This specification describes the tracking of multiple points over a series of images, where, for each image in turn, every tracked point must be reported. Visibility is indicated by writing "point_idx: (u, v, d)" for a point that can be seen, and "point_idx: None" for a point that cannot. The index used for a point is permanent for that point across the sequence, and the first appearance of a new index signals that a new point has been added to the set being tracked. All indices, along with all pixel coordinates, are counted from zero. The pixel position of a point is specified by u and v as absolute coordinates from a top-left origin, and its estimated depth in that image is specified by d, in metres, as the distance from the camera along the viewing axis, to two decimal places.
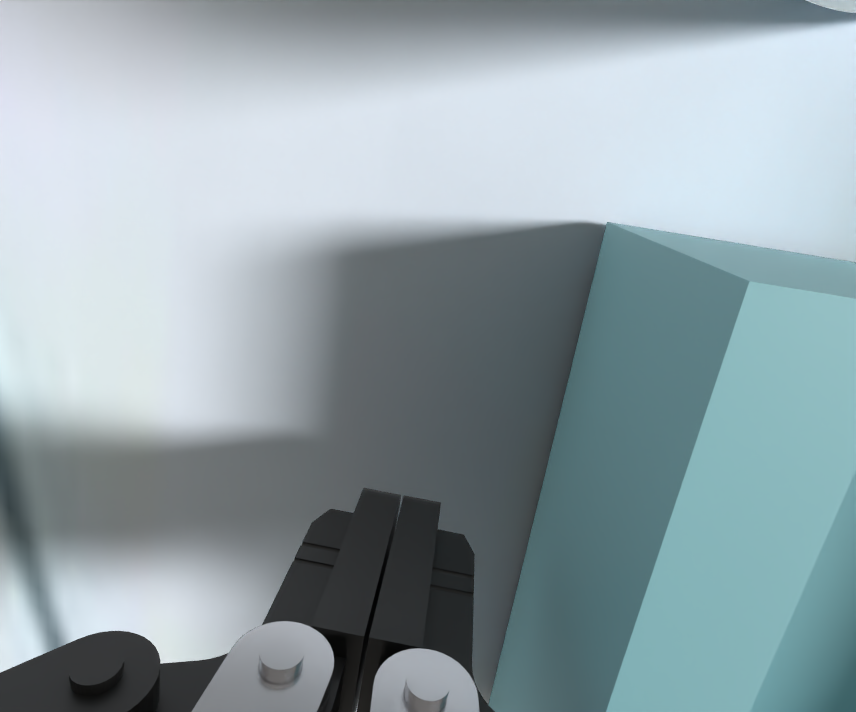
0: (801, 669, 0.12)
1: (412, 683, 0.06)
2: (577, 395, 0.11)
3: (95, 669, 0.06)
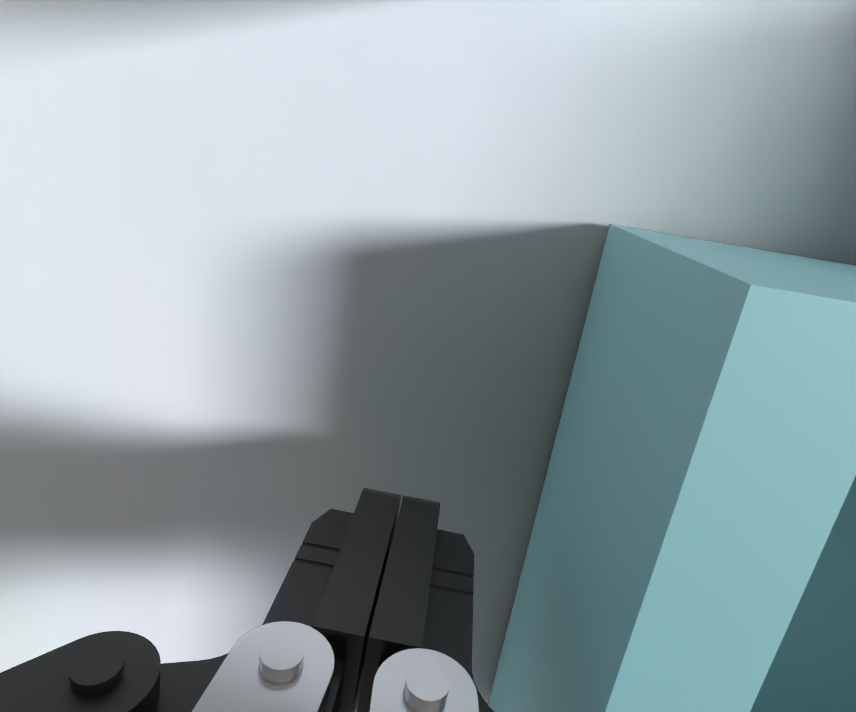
0: (801, 672, 0.12)
1: (412, 683, 0.06)
2: (578, 397, 0.11)
3: (96, 669, 0.06)
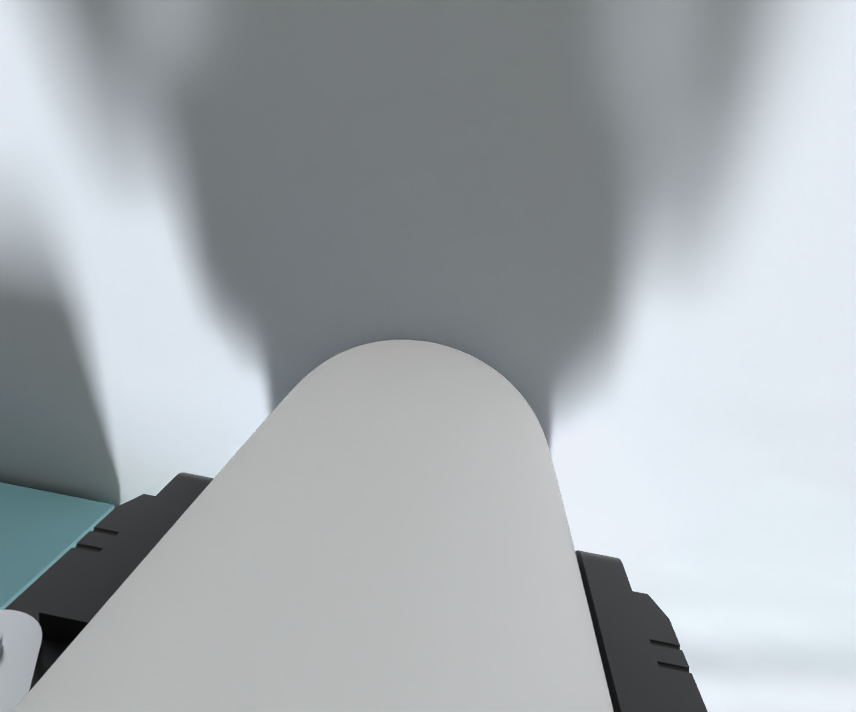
0: None
1: None
2: None
3: None
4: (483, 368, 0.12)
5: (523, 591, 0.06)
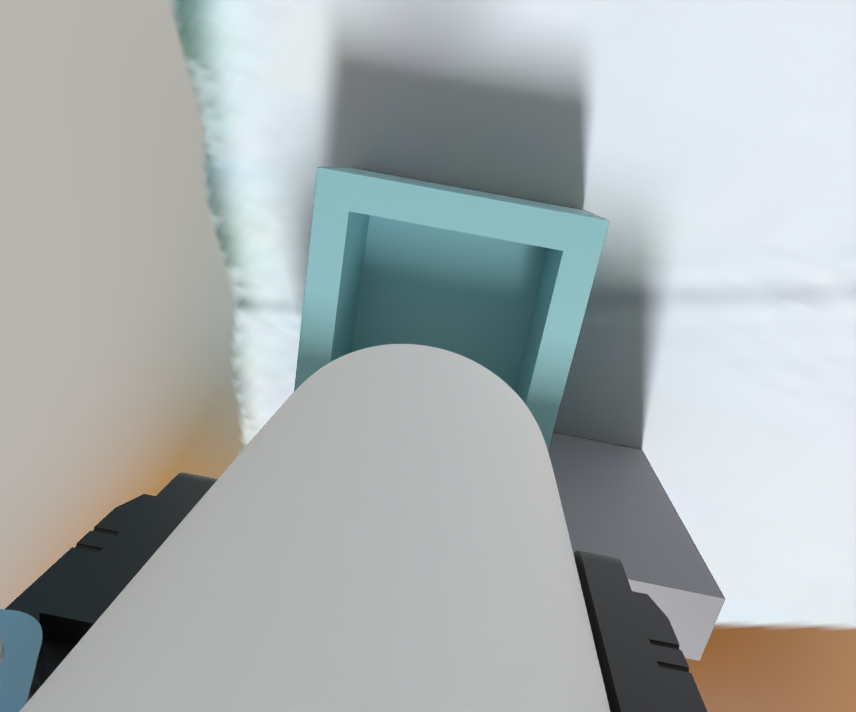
0: (401, 298, 0.30)
1: None
2: (525, 200, 0.28)
3: None
4: (483, 372, 0.12)
5: (522, 599, 0.06)
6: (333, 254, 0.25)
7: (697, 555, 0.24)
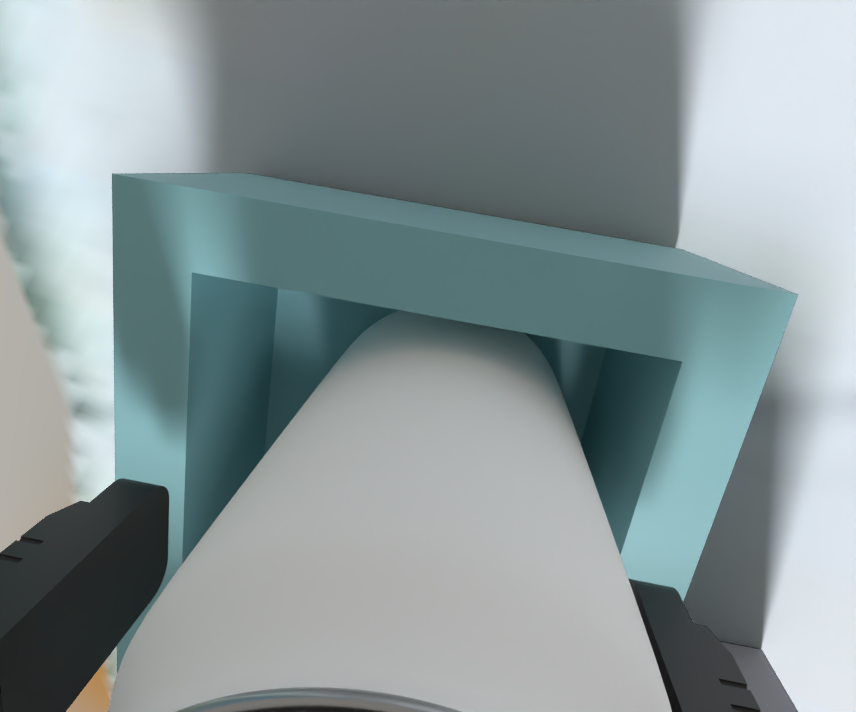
0: None
1: None
2: (573, 233, 0.15)
3: None
4: None
5: (548, 442, 0.09)
6: (166, 364, 0.11)
7: None
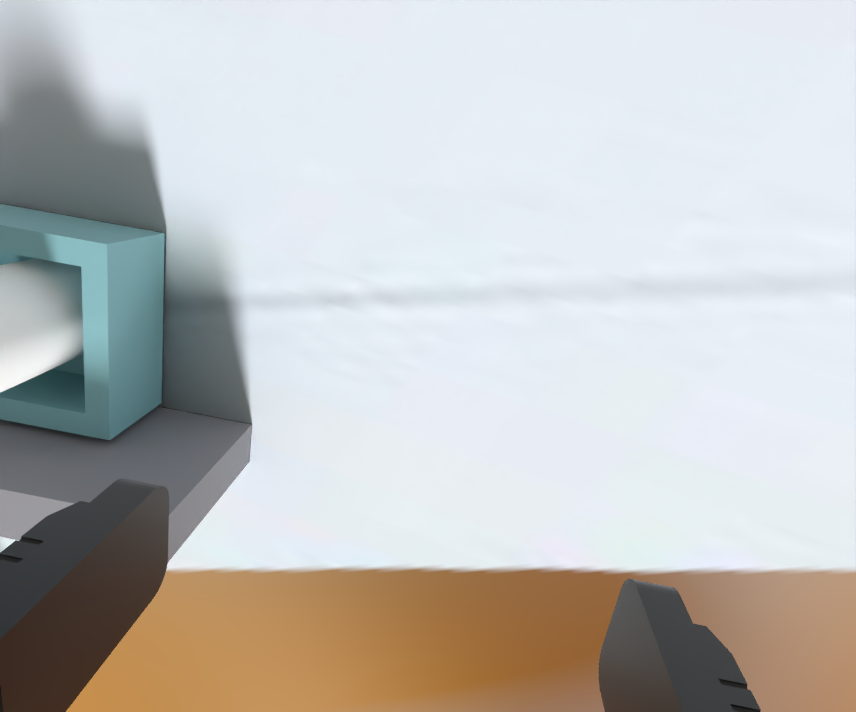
0: None
1: None
2: (108, 226, 0.36)
3: None
4: None
5: (12, 284, 0.30)
6: None
7: (184, 494, 0.32)
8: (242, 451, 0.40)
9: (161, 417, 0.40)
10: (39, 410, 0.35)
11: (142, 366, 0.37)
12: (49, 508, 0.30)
